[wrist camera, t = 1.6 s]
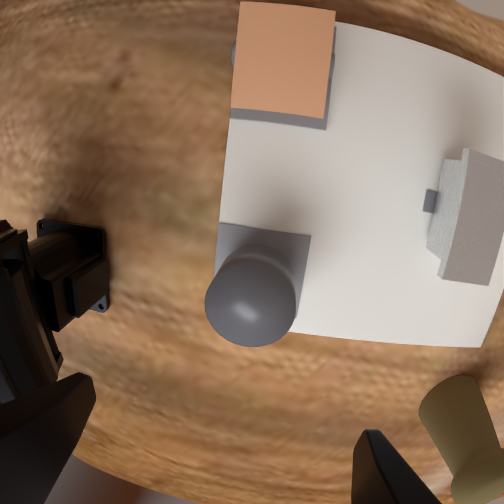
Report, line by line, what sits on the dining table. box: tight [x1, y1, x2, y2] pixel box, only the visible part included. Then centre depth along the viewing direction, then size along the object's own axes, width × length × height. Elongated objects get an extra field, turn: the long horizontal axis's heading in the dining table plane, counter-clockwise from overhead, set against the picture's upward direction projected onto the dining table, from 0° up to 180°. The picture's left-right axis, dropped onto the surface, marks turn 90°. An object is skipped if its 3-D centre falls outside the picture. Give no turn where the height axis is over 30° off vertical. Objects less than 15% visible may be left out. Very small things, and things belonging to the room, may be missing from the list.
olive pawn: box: [419, 375, 504, 504], centre depth 17 cm, size 6×6×11 cm
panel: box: [214, 21, 504, 348], centre depth 17 cm, size 19×18×3 cm
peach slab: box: [231, 2, 336, 119], centre depth 12 cm, size 4×5×2 cm
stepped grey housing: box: [426, 148, 504, 286], centre depth 14 cm, size 3×6×4 cm, turn 173°
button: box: [205, 245, 296, 347], centre depth 15 cm, size 4×4×3 cm
